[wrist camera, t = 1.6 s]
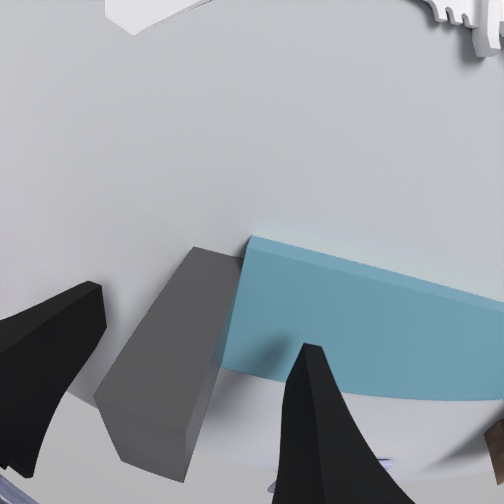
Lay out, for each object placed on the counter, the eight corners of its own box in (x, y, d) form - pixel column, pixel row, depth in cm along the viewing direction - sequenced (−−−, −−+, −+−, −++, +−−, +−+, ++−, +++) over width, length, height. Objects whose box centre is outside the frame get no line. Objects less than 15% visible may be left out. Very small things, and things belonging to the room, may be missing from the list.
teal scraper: (520, 387, 12) (549, 461, 6) (184, 340, 13) (126, 470, 7) (568, 321, 10) (614, 394, 3) (196, 221, 11) (83, 365, 4)
